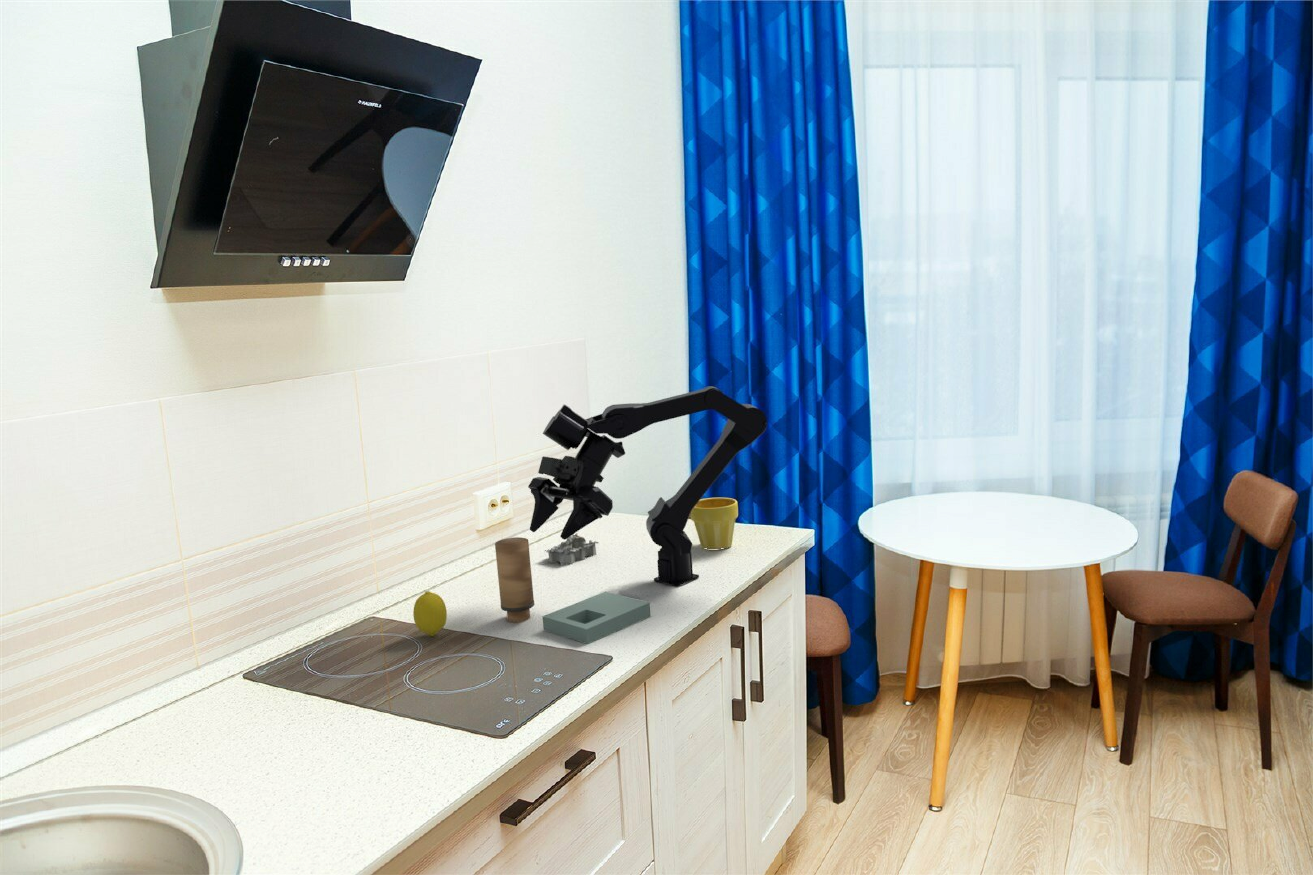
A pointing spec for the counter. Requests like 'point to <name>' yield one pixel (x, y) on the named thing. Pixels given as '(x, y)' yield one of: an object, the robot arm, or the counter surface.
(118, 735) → the counter surface
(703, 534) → the plant pot
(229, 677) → the counter surface
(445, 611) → the lemon
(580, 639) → the board
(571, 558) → the egg carton
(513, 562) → the peg
